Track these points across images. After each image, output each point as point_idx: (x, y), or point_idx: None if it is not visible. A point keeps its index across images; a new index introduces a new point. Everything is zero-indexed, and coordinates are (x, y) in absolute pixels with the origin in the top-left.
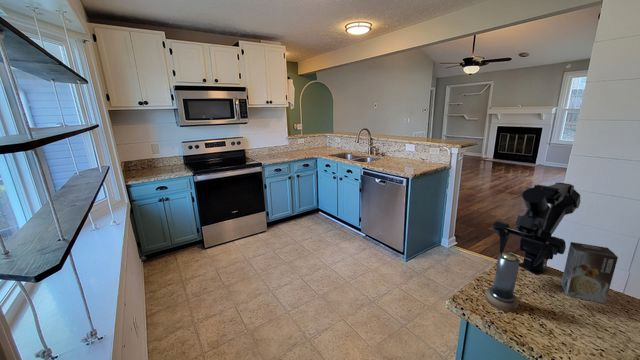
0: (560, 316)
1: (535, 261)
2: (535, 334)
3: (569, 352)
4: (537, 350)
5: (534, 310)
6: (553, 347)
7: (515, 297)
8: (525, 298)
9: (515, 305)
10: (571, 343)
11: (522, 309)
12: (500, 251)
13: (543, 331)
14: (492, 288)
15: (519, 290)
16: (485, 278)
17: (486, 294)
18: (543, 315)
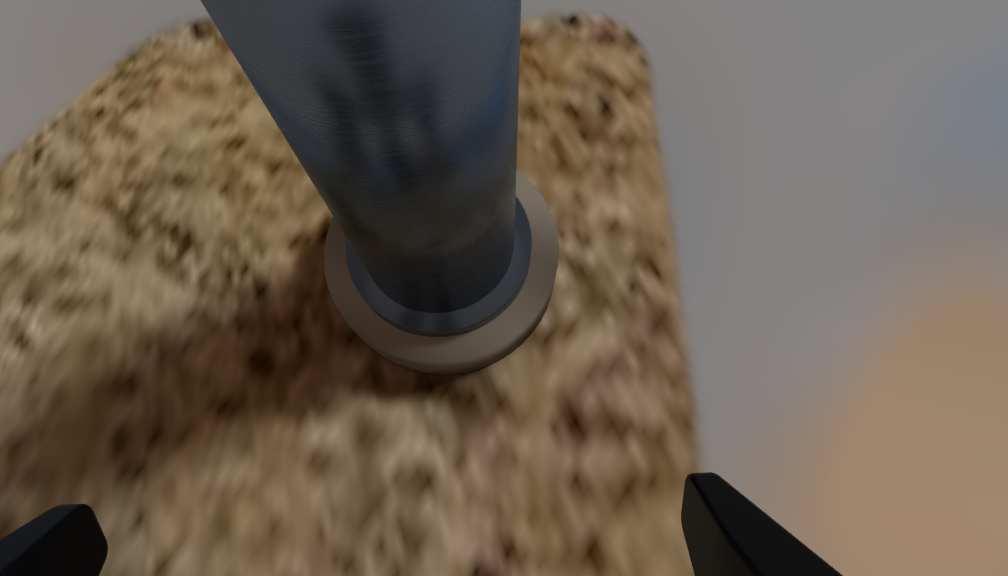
0: (81, 453)
1: (16, 551)
2: (198, 135)
3: (39, 141)
4: (173, 37)
5: (242, 364)
6: (110, 114)
7: (360, 315)
8: (328, 472)
9: (332, 223)
10: (26, 219)
11: (309, 303)
12: (710, 480)
13: (165, 194)
14: (522, 241)
15: (400, 562)
16: (682, 489)
17: (529, 185)
18: (183, 357)
